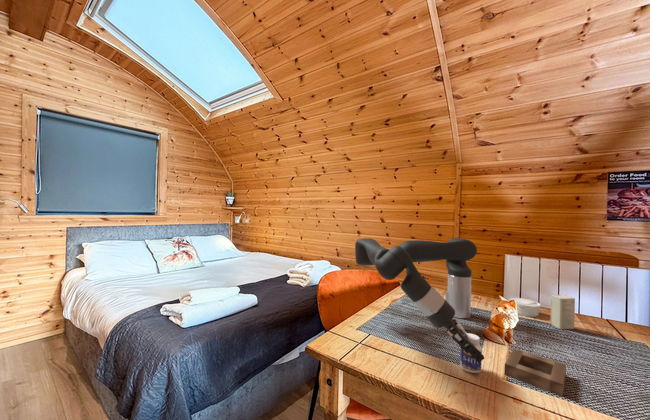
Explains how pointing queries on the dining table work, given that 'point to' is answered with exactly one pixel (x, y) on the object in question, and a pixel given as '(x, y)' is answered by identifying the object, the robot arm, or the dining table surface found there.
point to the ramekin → (527, 307)
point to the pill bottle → (470, 356)
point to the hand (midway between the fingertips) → (478, 353)
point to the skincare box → (562, 311)
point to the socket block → (535, 377)
